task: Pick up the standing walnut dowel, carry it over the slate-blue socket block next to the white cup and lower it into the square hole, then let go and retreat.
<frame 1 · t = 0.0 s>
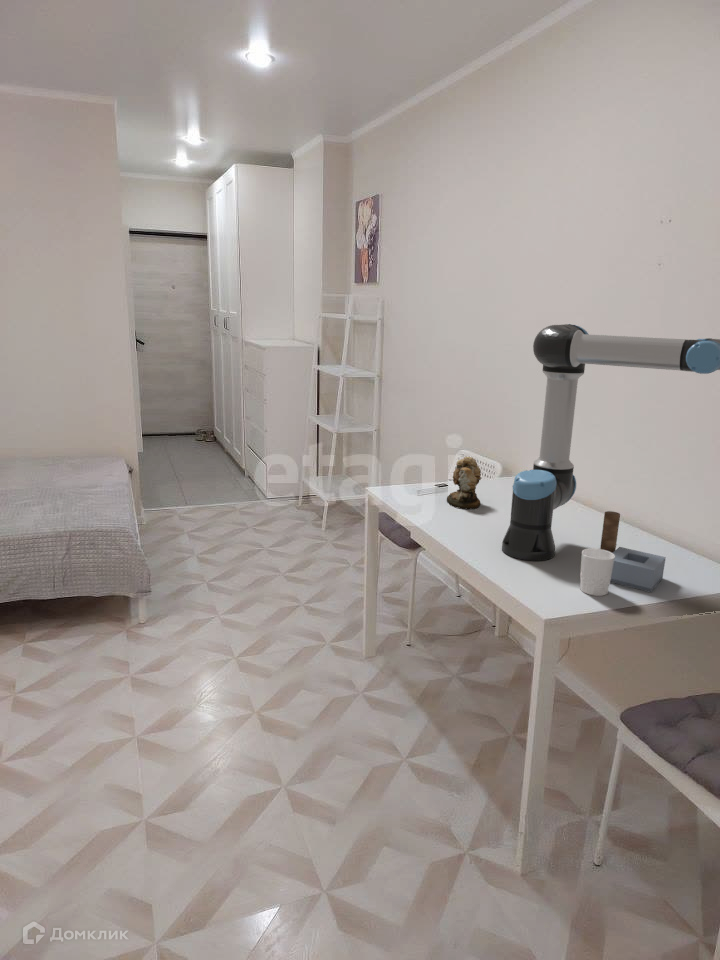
socket block: (633, 579, 179), on the table
white cup: (593, 591, 171), on the table
brown stone bust: (462, 502, 245), on the table
walnut dowel: (605, 564, 188), on the table
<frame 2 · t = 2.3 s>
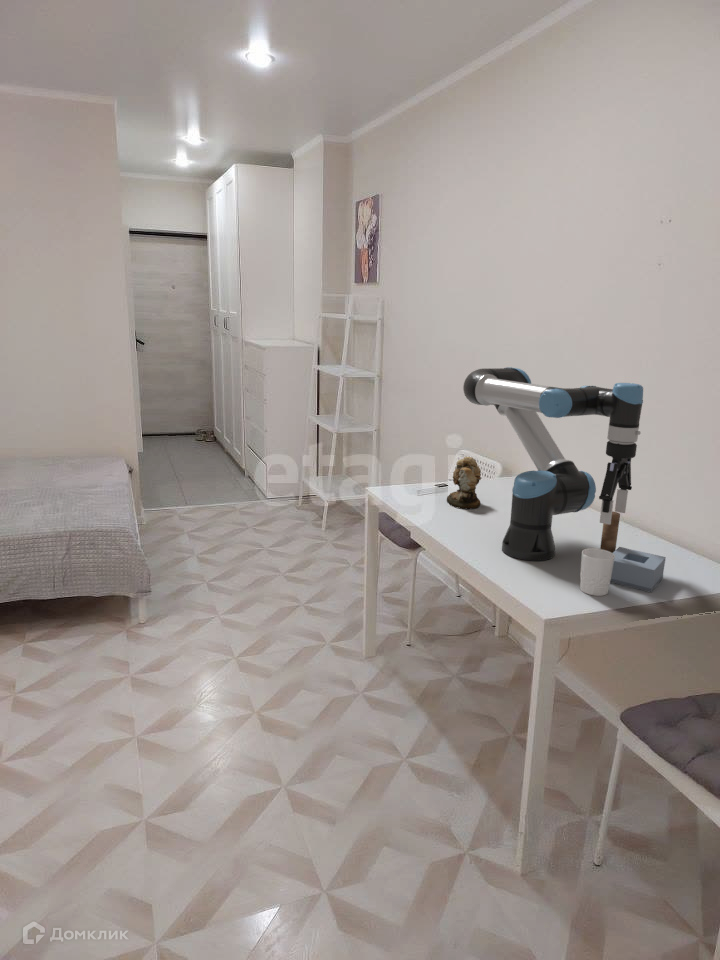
hand: (612, 517, 185), 14 cm above the table, fingers open, 13 cm apart
nothing on the table moved.
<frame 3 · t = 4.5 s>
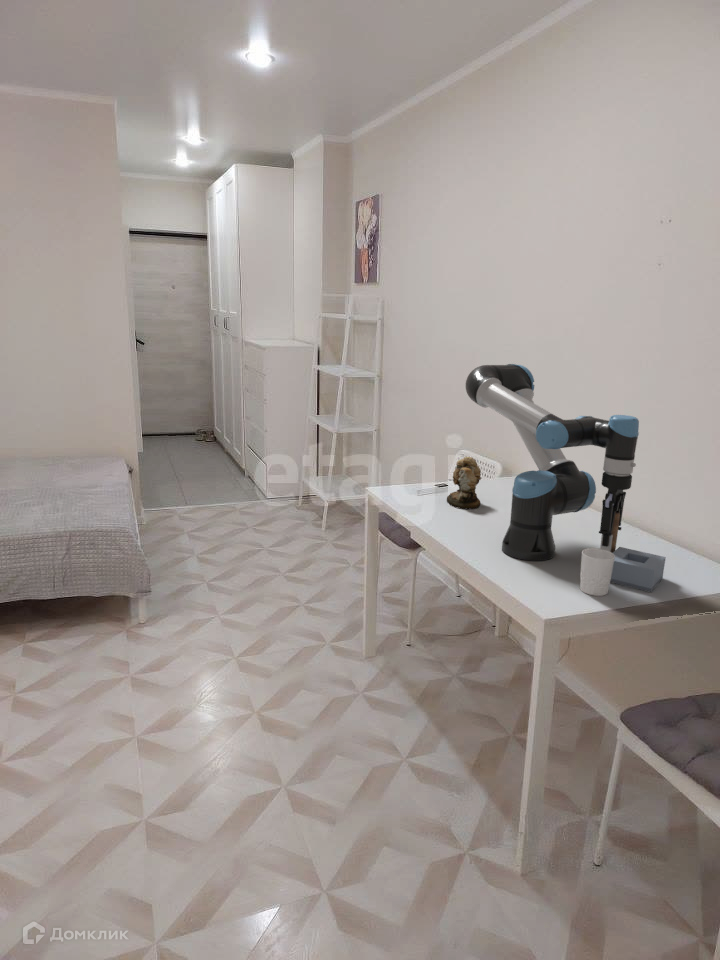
hand: (607, 553, 188), 3 cm above the table, fingers closed on walnut dowel, 4 cm apart
walnut dowel: (605, 564, 188), on the table, touching gripper
everything else where it was.
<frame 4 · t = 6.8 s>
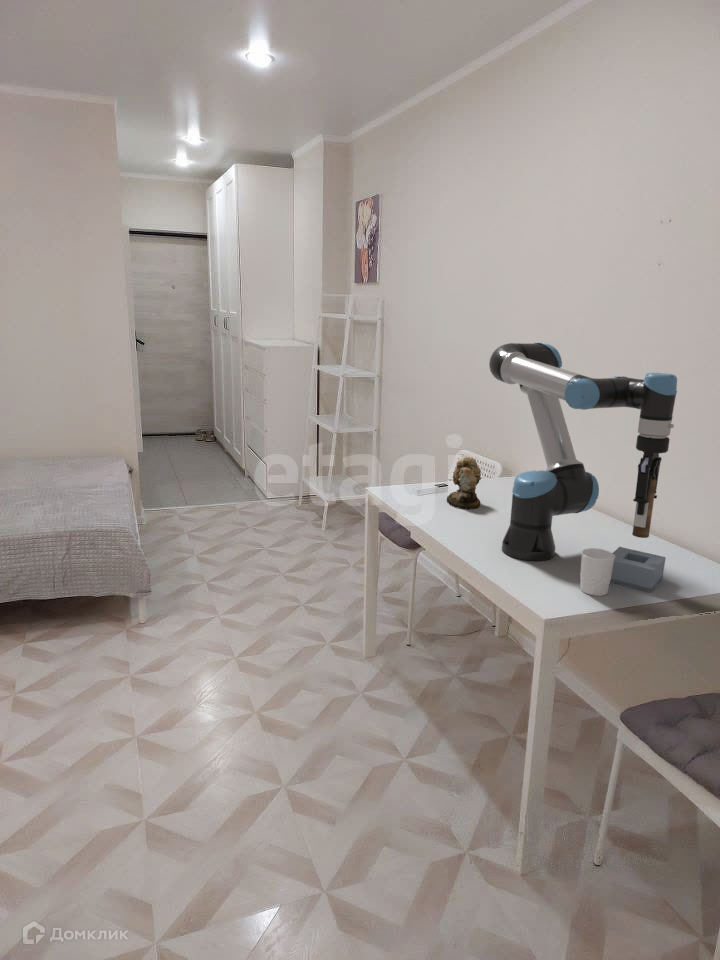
hand: (641, 524, 174), 16 cm above the table, fingers closed on walnut dowel, 4 cm apart
walnut dowel: (640, 535, 175), point 12 cm above the table, touching gripper
everything else where it was.
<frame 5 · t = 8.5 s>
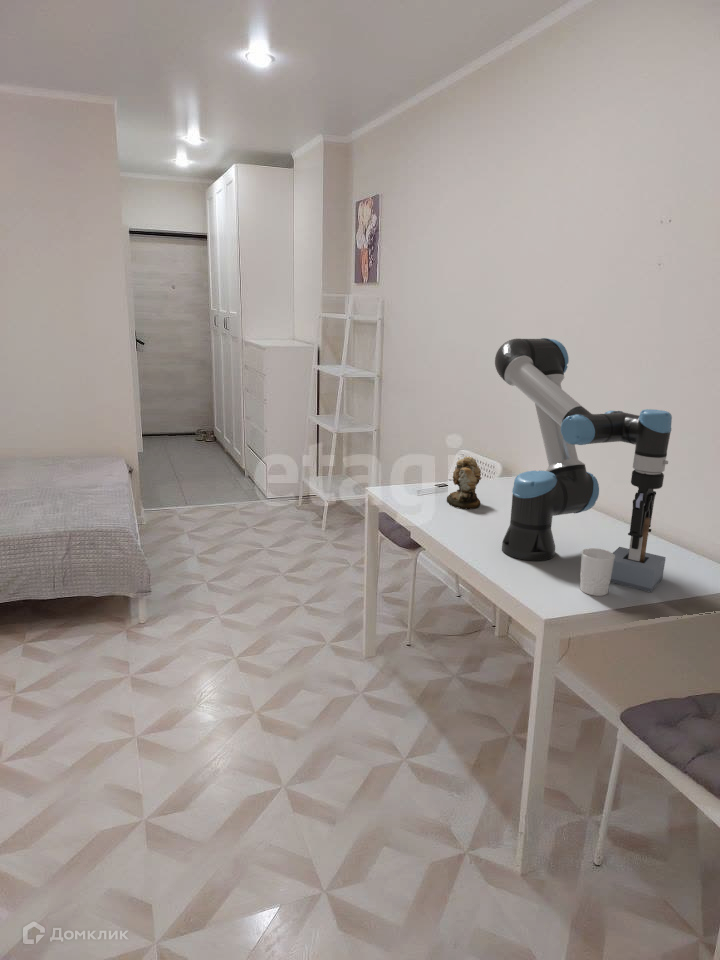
hand: (636, 557, 177), 6 cm above the table, fingers closed on walnut dowel, 4 cm apart
walnut dowel: (634, 571, 178), point 2 cm above the table, touching gripper
everything else where it was.
when the fingers open (6 cm above the table, at t = 9.2 s): walnut dowel stays where it is, resting on socket block.
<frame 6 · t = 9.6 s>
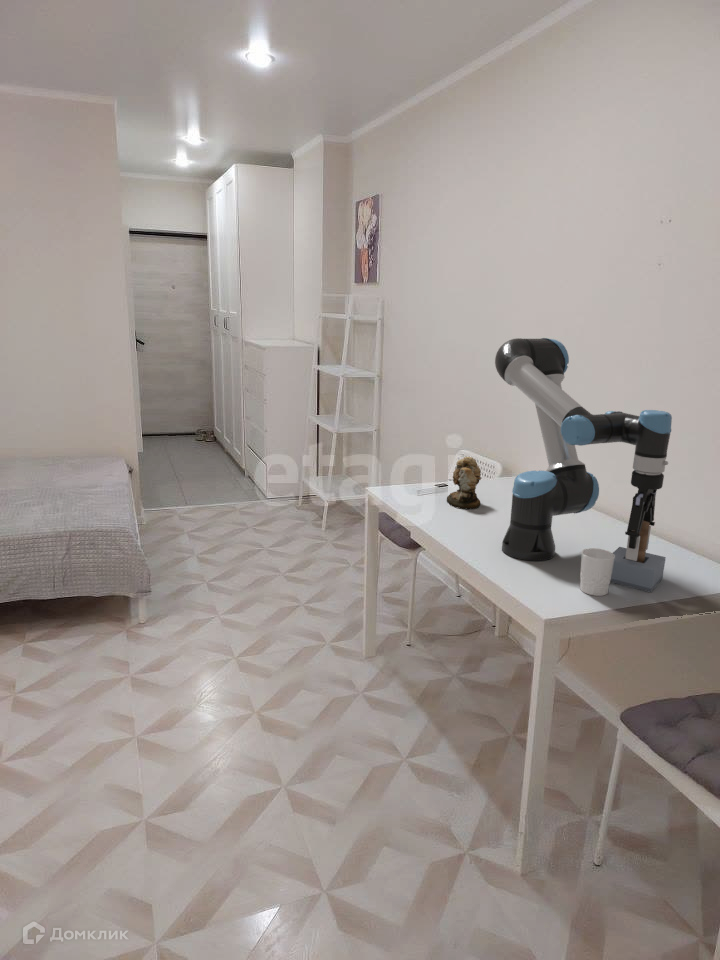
hand: (636, 553, 177), 7 cm above the table, fingers open, 10 cm apart
walnut dowel: (633, 575, 178), point 1 cm above the table, touching socket block
everything else where it was.
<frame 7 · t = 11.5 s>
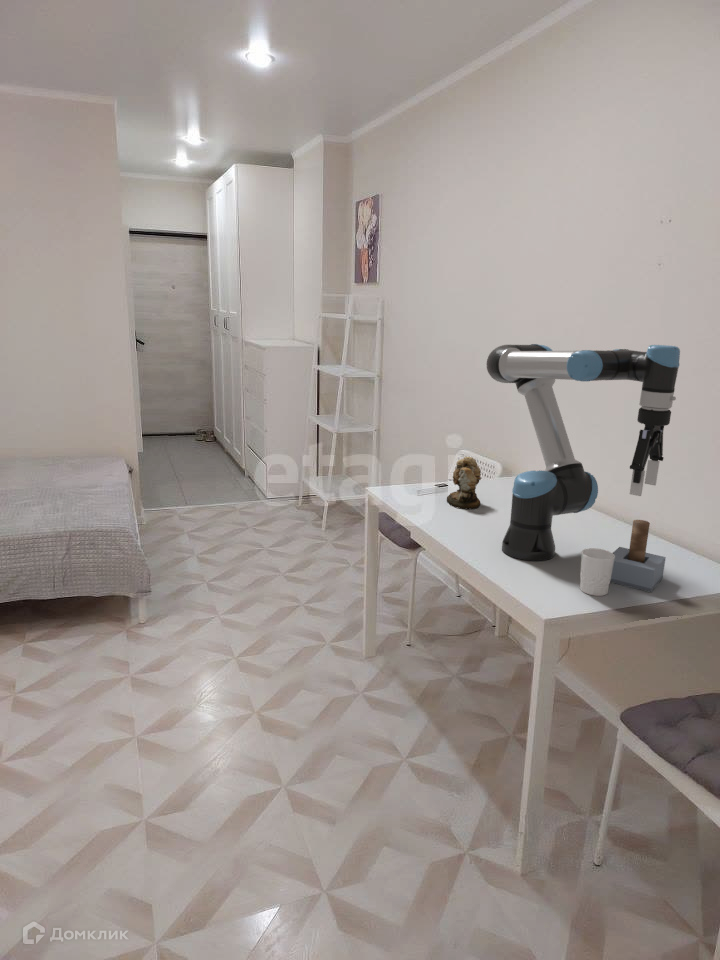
hand: (643, 489, 174), 24 cm above the table, fingers open, 13 cm apart
nothing on the table moved.
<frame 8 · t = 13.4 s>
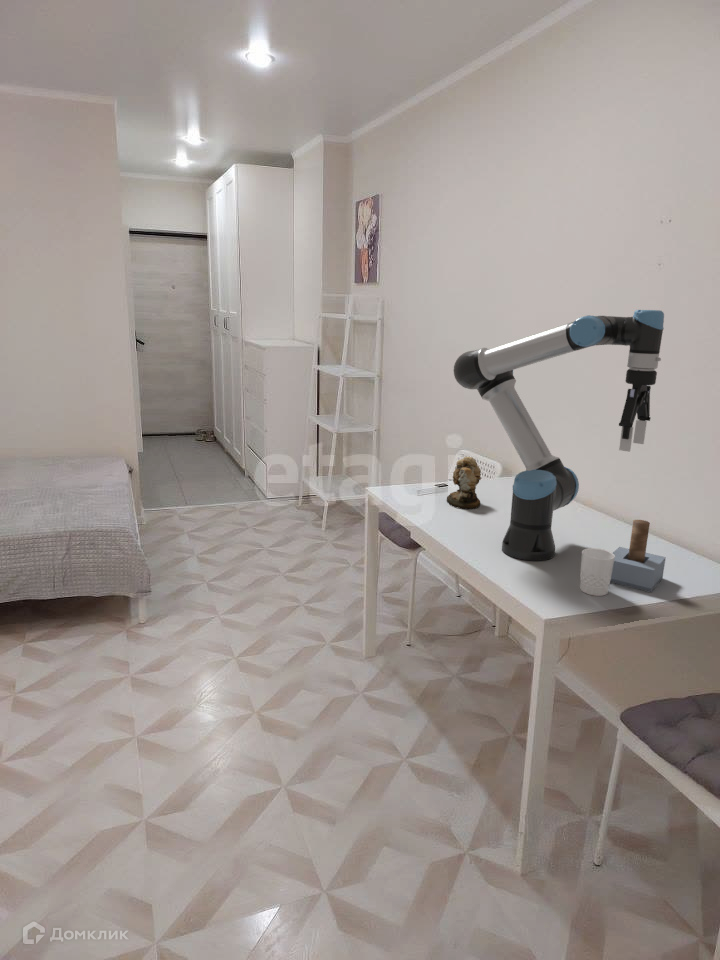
hand: (631, 447, 185), 33 cm above the table, fingers open, 13 cm apart
nothing on the table moved.
at the end: walnut dowel 0.1 cm off-centre on the socket block, point 1.0 cm above the socket block's base; walnut dowel tilted 0°; the gripper is holding nothing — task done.
